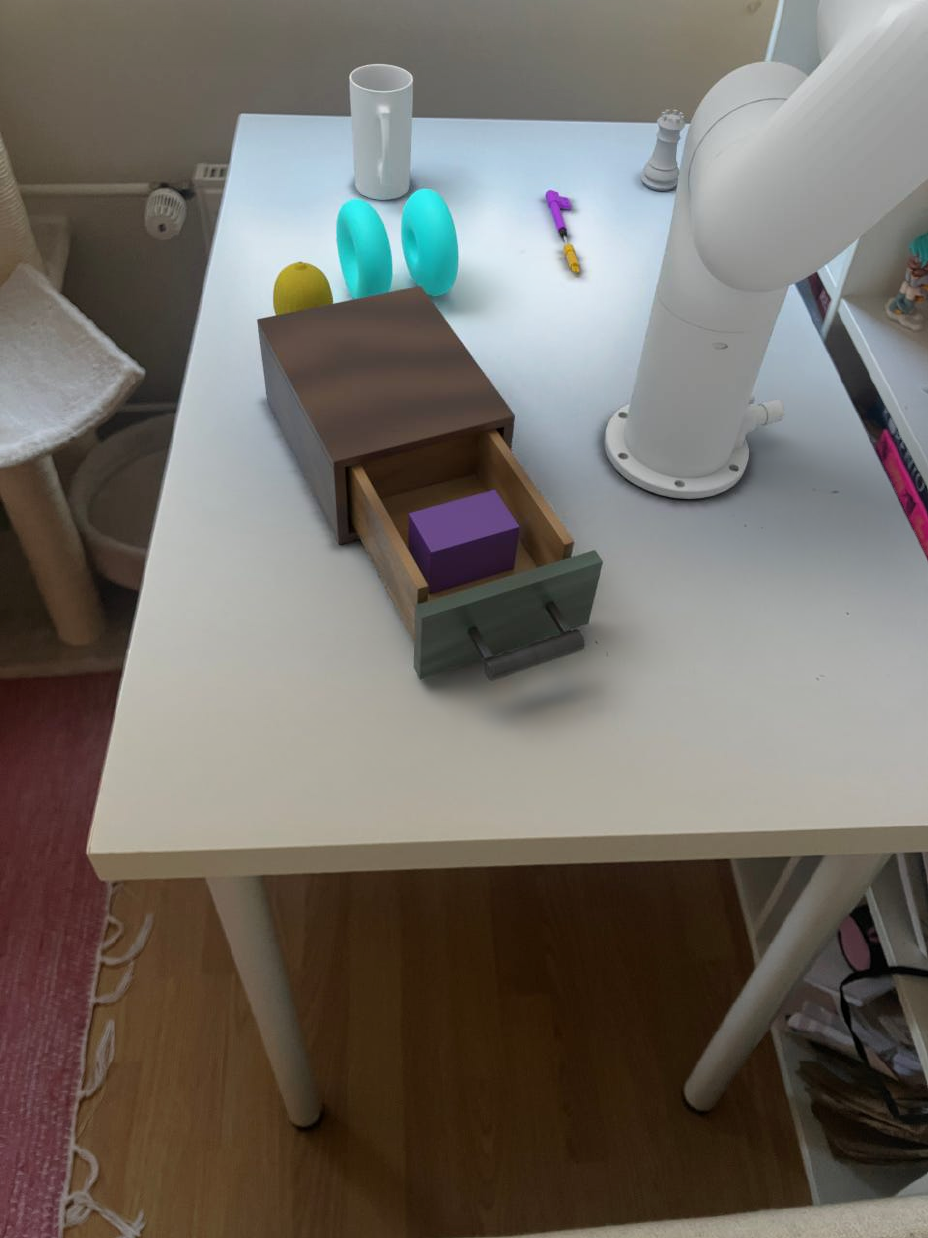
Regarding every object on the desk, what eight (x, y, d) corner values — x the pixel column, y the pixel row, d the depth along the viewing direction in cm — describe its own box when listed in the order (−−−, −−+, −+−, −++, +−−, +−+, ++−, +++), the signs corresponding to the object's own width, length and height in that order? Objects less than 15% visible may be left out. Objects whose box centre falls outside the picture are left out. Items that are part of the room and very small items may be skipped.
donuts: (460, 312, 101) (465, 218, 93) (365, 329, 98) (362, 234, 90) (425, 259, 106) (428, 167, 99) (335, 275, 104) (330, 181, 96)
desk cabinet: (505, 498, 84) (515, 415, 77) (338, 545, 80) (333, 461, 73) (419, 367, 95) (421, 284, 88) (267, 403, 90) (256, 318, 83)
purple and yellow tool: (543, 196, 115) (569, 275, 106) (546, 186, 115) (573, 265, 105) (564, 201, 116) (592, 280, 106) (568, 191, 115) (596, 270, 106)
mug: (351, 172, 117) (347, 63, 108) (408, 171, 118) (409, 63, 109) (356, 217, 111) (352, 106, 102) (416, 216, 112) (418, 105, 102)
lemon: (325, 359, 95) (320, 284, 88) (269, 349, 95) (260, 274, 89) (341, 326, 98) (338, 251, 92) (287, 317, 99) (280, 241, 92)
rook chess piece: (683, 181, 120) (699, 112, 114) (667, 196, 118) (682, 127, 111) (649, 169, 121) (663, 101, 115) (633, 184, 119) (646, 115, 113)
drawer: (617, 666, 72) (634, 605, 67) (443, 727, 68) (448, 666, 63) (488, 473, 84) (494, 407, 79) (334, 514, 80) (330, 448, 75)
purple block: (490, 531, 78) (495, 488, 75) (514, 569, 76) (520, 526, 73) (407, 556, 76) (408, 513, 73) (429, 595, 74) (431, 552, 70)
